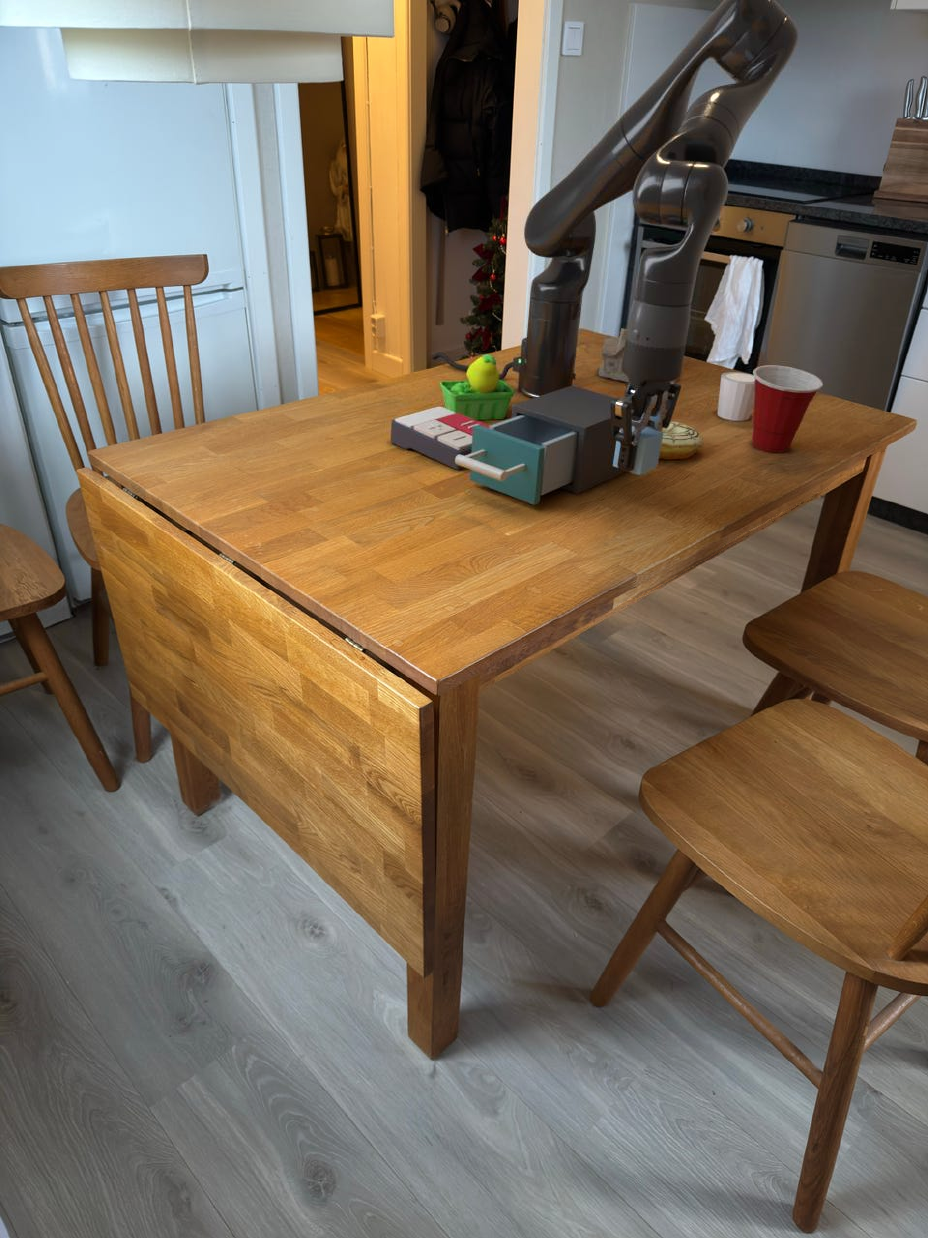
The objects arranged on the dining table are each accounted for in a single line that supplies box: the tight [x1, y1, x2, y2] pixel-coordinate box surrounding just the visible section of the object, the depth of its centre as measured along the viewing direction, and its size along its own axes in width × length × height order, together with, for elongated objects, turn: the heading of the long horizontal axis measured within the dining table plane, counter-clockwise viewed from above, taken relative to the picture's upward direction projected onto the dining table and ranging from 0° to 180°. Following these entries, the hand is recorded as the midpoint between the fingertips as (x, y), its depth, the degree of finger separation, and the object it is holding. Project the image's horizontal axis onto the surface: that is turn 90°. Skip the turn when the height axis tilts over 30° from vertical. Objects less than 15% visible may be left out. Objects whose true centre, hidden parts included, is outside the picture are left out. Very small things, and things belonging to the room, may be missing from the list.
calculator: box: [390, 406, 490, 471], centre depth 139 cm, size 11×4×15 cm
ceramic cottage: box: [598, 327, 678, 383], centre depth 178 cm, size 16×16×15 cm
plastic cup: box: [752, 364, 824, 453], centre depth 145 cm, size 11×11×12 cm
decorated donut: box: [659, 421, 704, 461], centre depth 143 cm, size 10×11×4 cm
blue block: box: [613, 426, 663, 476], centre depth 120 cm, size 4×4×5 cm
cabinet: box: [511, 384, 641, 495], centre depth 133 cm, size 15×13×10 cm
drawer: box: [455, 414, 580, 506], centre depth 125 cm, size 19×12×8 cm, turn 138°
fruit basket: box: [439, 353, 516, 421], centre depth 151 cm, size 11×9×11 cm
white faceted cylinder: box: [717, 371, 755, 422], centre depth 159 cm, size 7×7×7 cm
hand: (635, 464), depth 121 cm, fingers closed on blue block, 4 cm apart
